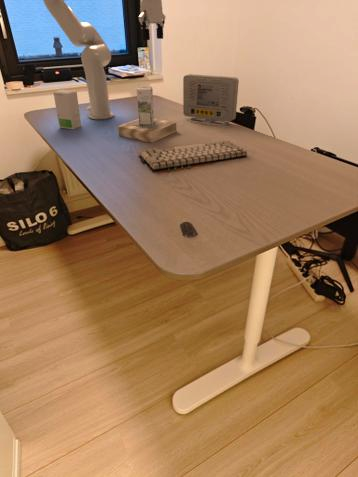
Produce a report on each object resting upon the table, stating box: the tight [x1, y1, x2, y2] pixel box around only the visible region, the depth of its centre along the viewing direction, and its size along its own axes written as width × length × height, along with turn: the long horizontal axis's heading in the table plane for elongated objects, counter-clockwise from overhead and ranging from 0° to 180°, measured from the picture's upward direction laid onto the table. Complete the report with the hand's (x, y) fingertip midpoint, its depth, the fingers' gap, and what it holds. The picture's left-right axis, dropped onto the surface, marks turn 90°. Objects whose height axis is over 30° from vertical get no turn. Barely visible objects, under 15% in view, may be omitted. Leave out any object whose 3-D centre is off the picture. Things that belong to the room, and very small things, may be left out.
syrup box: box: [136, 86, 155, 125], centre depth 141 cm, size 6×6×14 cm
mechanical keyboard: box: [138, 140, 248, 175], centre depth 122 cm, size 38×19×3 cm, turn 113°
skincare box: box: [53, 89, 82, 130], centre depth 152 cm, size 8×7×16 cm
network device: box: [182, 73, 240, 127], centre depth 156 cm, size 26×9×20 cm, turn 62°
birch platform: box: [117, 118, 177, 143], centre depth 146 cm, size 18×18×4 cm
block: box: [179, 221, 199, 238], centre depth 82 cm, size 4×6×2 cm, turn 15°
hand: (153, 39), depth 146 cm, fingers open, 9 cm apart
